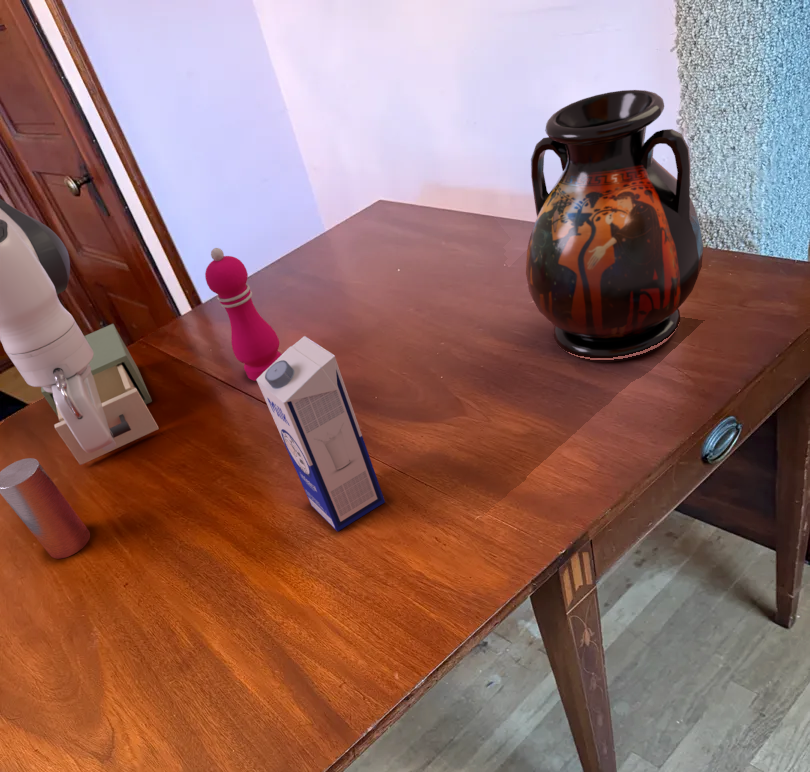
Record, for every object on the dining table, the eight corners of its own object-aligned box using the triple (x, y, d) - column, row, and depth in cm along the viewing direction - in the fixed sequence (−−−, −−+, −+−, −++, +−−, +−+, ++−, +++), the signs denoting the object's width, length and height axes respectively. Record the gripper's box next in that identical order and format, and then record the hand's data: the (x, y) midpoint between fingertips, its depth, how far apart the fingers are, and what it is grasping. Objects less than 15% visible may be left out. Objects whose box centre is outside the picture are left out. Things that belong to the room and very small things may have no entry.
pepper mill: (265, 355, 122) (215, 235, 109) (297, 360, 118) (249, 237, 105) (236, 379, 119) (180, 259, 105) (267, 386, 115) (213, 262, 101)
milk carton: (386, 502, 87) (334, 354, 74) (338, 532, 86) (276, 385, 72) (356, 477, 92) (303, 333, 79) (310, 505, 91) (248, 362, 77)
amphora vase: (509, 368, 102) (472, 152, 83) (574, 289, 113) (554, 83, 94) (667, 387, 90) (666, 141, 71) (722, 297, 101) (733, 64, 83)
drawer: (164, 441, 108) (142, 402, 104) (83, 479, 106) (57, 441, 102) (143, 392, 121) (123, 356, 117) (71, 425, 119) (47, 389, 115)
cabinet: (152, 401, 120) (126, 355, 114) (72, 438, 118) (41, 392, 112) (137, 367, 131) (113, 323, 125) (63, 400, 129) (35, 357, 123)
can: (51, 565, 95) (-7, 495, 87) (47, 541, 99) (-8, 471, 91) (92, 545, 96) (39, 473, 88) (87, 522, 100) (36, 451, 92)
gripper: (86, 377, 85) (144, 470, 94) (69, 318, 100) (120, 403, 109) (33, 400, 84) (97, 492, 93) (24, 337, 99) (79, 422, 108)
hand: (109, 444), depth 101 cm, fingers closed
